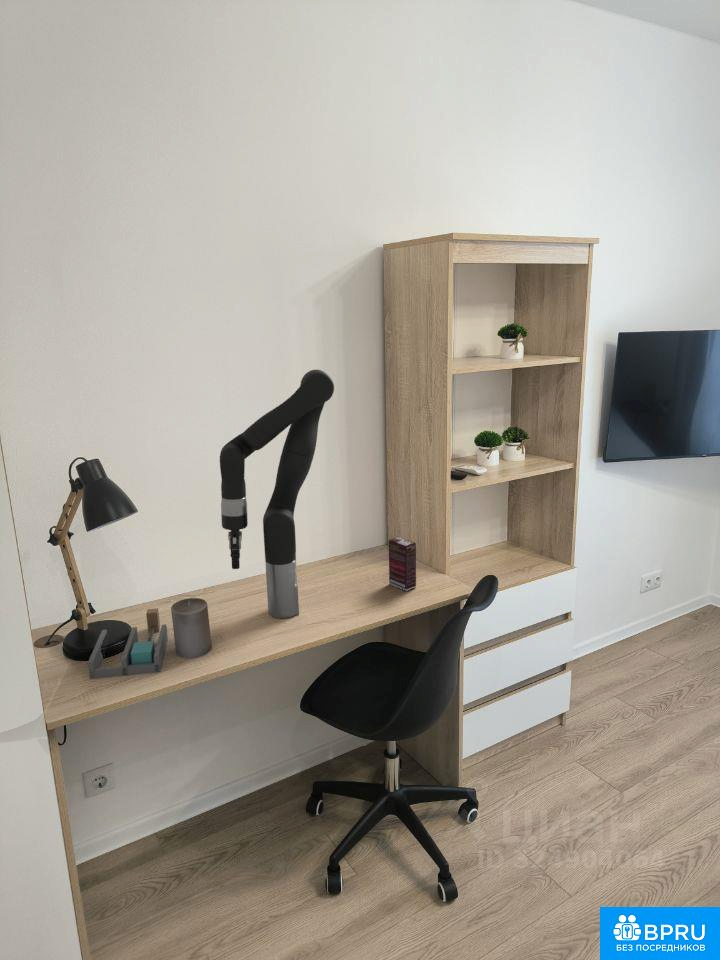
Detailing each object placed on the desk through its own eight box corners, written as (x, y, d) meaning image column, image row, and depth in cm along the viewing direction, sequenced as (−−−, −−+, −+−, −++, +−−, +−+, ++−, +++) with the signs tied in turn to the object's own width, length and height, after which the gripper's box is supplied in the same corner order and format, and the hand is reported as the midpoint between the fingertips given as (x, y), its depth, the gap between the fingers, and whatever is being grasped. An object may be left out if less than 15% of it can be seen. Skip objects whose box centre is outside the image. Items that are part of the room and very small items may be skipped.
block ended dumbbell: (163, 626, 205) (161, 607, 204) (152, 668, 182) (150, 648, 180) (146, 628, 205) (144, 609, 203) (132, 670, 181) (130, 650, 180)
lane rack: (168, 640, 197) (166, 624, 196) (160, 673, 180) (158, 655, 179) (104, 646, 195) (102, 629, 194) (90, 679, 178) (87, 662, 177)
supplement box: (416, 588, 229) (416, 542, 225) (406, 592, 226) (406, 546, 222) (398, 580, 236) (398, 536, 231) (388, 584, 233) (387, 539, 228)
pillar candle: (200, 638, 198) (195, 590, 194) (218, 650, 191) (213, 600, 187) (169, 650, 192) (163, 601, 188) (186, 663, 185) (180, 612, 181)
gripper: (247, 518, 197) (248, 571, 201) (247, 504, 211) (248, 554, 215) (220, 519, 196) (222, 573, 200) (222, 504, 209) (224, 555, 214)
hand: (236, 563), depth 207 cm, fingers open, 8 cm apart
